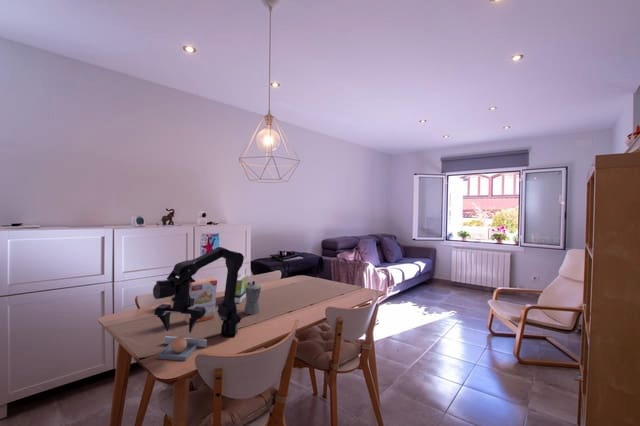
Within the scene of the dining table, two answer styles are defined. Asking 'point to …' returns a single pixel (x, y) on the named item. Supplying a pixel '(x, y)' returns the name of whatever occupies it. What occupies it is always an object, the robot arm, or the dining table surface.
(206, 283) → the cracker box
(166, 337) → the wall
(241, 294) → the tea box
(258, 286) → the coffeepot
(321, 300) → the dining table surface
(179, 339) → the ball
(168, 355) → the grey square tray
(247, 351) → the dining table surface
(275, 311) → the dining table surface
